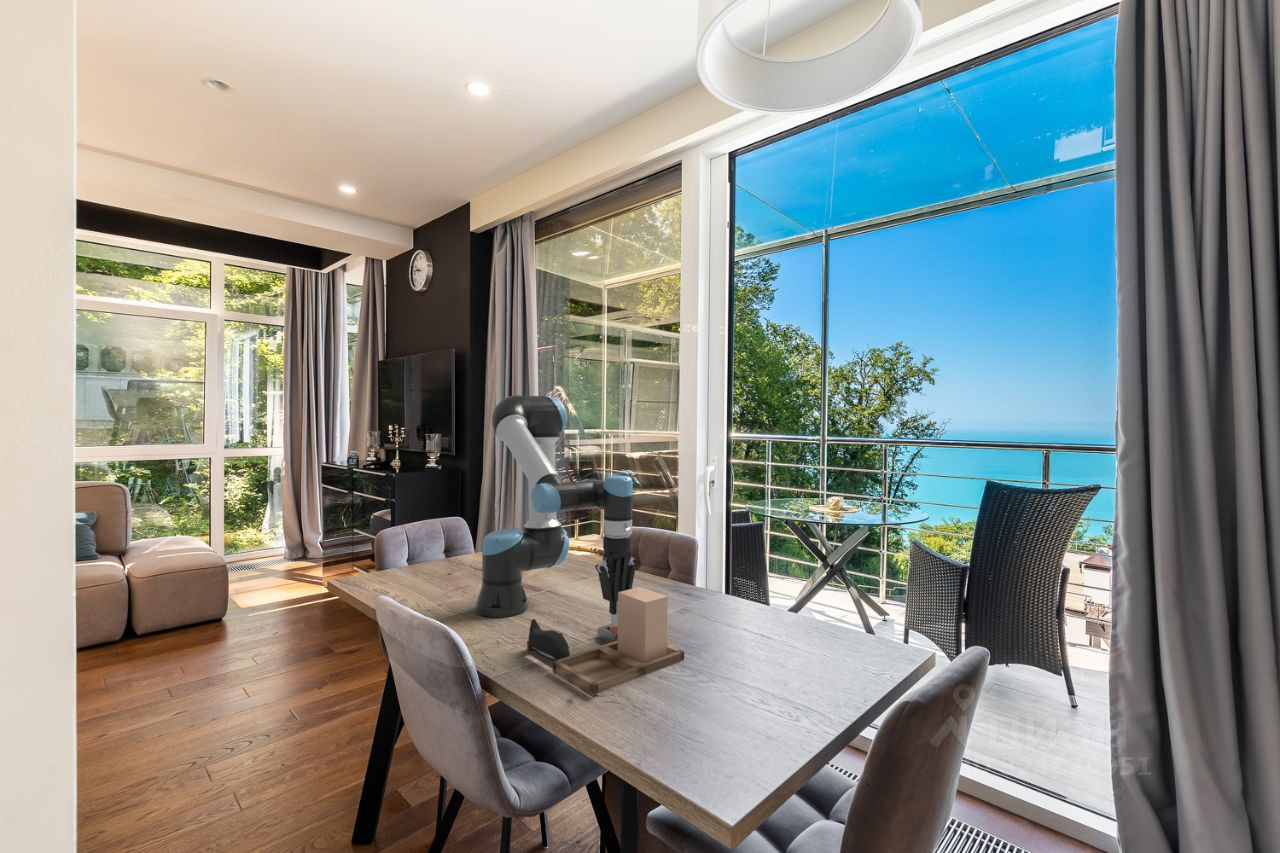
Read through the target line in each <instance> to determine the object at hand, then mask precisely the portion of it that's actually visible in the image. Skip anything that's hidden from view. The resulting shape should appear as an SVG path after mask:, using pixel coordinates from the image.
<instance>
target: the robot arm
mask: <svg viewBox="0 0 1280 853" xmlns="http://www.w3.org/2000/svg"><path fill="white" fill-rule="evenodd" d="M567 423H568V415H567V410H566V408H565V405H564V404H563V402H562V400H560V399H559V398H557V397H554V396H548V395H520V394H519V395H518V394H514V395H510V396H506V397H505V398H503V399H502V400H500V401H499V402H498V403H497V405H496V406H495V408H493V412H492V415H491V426H492V429H493V431H494V433H495V435H496V437H497V438H498V439H499V440H500V441H502V442H504V443H505V444H506V446H507V447H508V449H509V451H510V453H511V454H512V456H513V458H514V460H515V461H516V462H517V464H518V466H519V467H520V468H521V470H522V472H523V474H524V475H525V477H526V478H527V479H528V481H527V482H528V483H527V484H528V487H527V490H528V521H526V523H525V524H524V525H523V531H522V530H521V529H519V528H513V527H511V528H504V529H499V530H495V531H491V532H490V533H487V535H485V536H484V538H483V541H482V550H481V554H482V560H481V561H482V562H481V563H482V566H481V567H482V568H481V569H482V571H481V572H482V573H481V574H482V575H481V576H482V578H481V580H482V582H481V587H480V590H479V593H478V597H477V599H476V602H475V612H476V613H477V614H478V615H480V616H484V617H488V618H504V617H505V618H506V617H512V616H513V617H514V616H516V615H520V614H523V613H524V612H526V611H527V610H528V602H529V601H528V598H527V595H526V592H525V588H524V585H523V572H527V571H532V570H533V571H534V570H538V569H545V568H547V569H550V568H552V567H555V566H560V565H561V564H563V562H565V560H566V558H567V556H568V555H569V550H570V539H569V536H568V532H567V531H566V530H565V528H562V523H561V522H560V521H559V520H558V519H557V513H559V512H561V513H562V512H569V511H578V510H587V509H599V510H602V511H603V520H602V521H603V522H602V523H603V524H602V526H603V527H602V528H603V529H602V533H603V538H602V549H603V552H604V555H603V557H602V561H601V563H599V564H596V565H595V568H594V569H595V570H596V572H597V574H598V579H599V583H600V584H599V585H600V588H601V589H600V590H601V594H602V599H603V600H606V601H608V602H609V611H608V612H609V614H610V624H611V625H613V626H615V627H617V628H618V592H621V591H625V590H629V589H633V584H634V583H633V582H634V578H635V574H636V568H637V566H638V564H639V559H638V558H634V557H633V556H632V553H631V551H632V550H633V537H632V536H631V535H632V534H633V506H634V504H633V500H634V490H633V488H634V487H633V478H632V477H631V476H629V475H619V474H617V475H616V474H615V475H611V474H610V475H607V476H605V477H604V479H603V480H599V479H597V478H585V479H582V480H578V481H564V480H563V479H562V478H561V476H560V475H559V473H558V472H557V471H556V443H557V441H559V440H560V437H561V433H563V432H564V431H565V429H566V426H567Z"/></svg>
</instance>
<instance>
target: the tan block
mask: <svg viewBox="0 0 1280 853" xmlns="http://www.w3.org/2000/svg"><path fill="white" fill-rule="evenodd" d="M668 603H669V602H668V595H665V594H662V593H658V592H655V591H653V590H650V589H647V588H644V587H641V586H638V587H634V588H633V587H632V589H629V590H625V591H621V592H618V652H620V653H622V654H624V655H626V656H628V657H630V658H632V659H634V660H636V661H638V662H640V663H642V664H644V663H647V662H649V661H652V660H655V659H658V658H660V657H663V656H666V655H667V644H668Z"/></svg>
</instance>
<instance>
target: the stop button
mask: <svg viewBox="0 0 1280 853" xmlns="http://www.w3.org/2000/svg"><path fill="white" fill-rule="evenodd" d="M610 631H612V632H614V633H617V632H618V628H617V627H615V626H610Z"/></svg>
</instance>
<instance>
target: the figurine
mask: <svg viewBox="0 0 1280 853" xmlns="http://www.w3.org/2000/svg"><path fill="white" fill-rule="evenodd" d="M526 647H527V648H526V649H527V651H528V652H529V651H533V650H536V651H537V652H539V654H541V655H543V656H545V657H547V658H550V659H552V660H558V659H561V658H564V657H568V656H571V653H570V649H569V648H570V647H569V644H568V641H567V640H566V639H565V636H564V634H563V633H561V632H558V631H556V630H550V629H548V630H545V629H544V630H543V629H542V628H541V627H540V625H539V624H538V622H537V621H536V619H535V618H533V619H531V622H530V626H529V632H528V640H527V641H526Z"/></svg>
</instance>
